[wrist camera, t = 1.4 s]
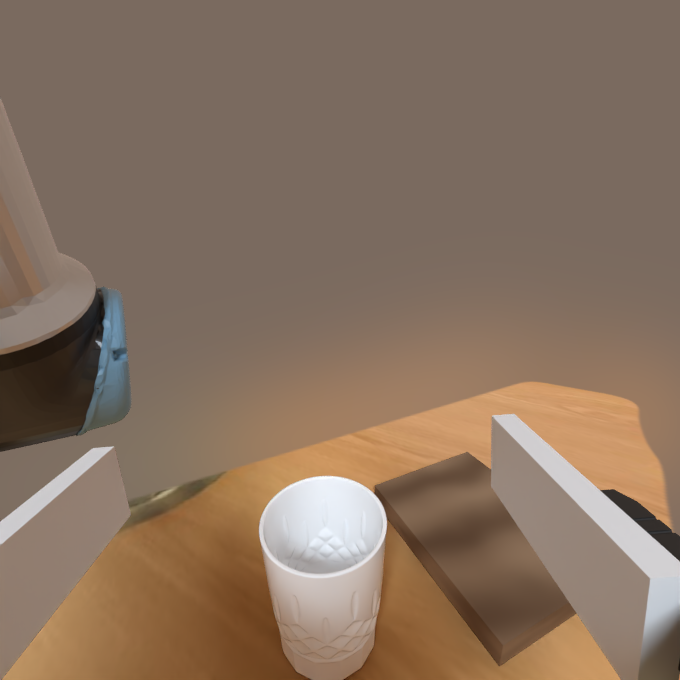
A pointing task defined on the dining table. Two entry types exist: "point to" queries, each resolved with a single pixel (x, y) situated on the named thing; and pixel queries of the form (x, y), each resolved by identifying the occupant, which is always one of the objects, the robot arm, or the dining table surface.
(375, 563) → the white cup
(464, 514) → the walnut board
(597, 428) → the dining table surface
